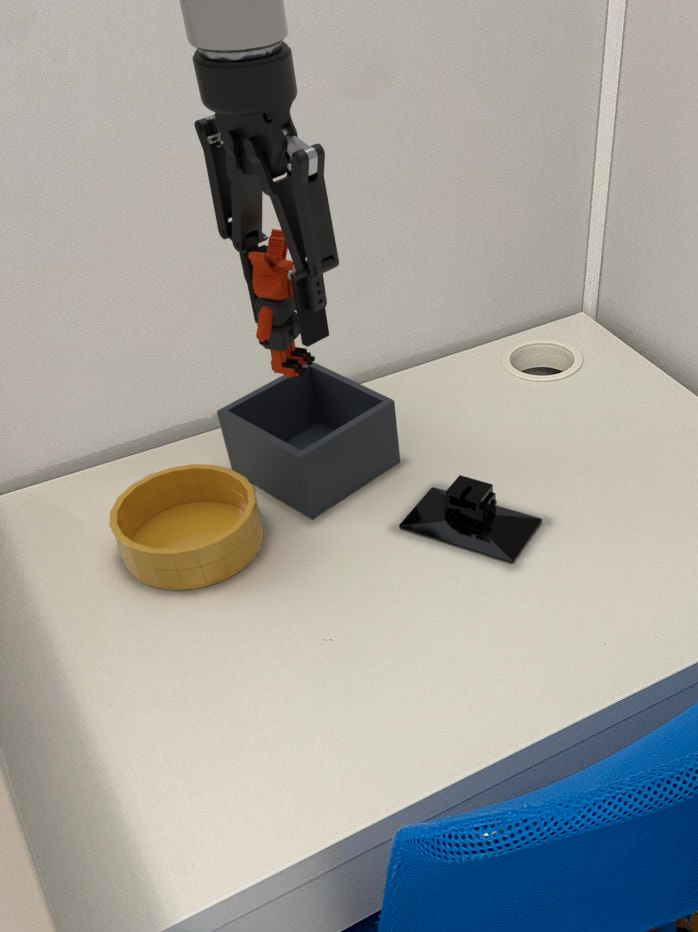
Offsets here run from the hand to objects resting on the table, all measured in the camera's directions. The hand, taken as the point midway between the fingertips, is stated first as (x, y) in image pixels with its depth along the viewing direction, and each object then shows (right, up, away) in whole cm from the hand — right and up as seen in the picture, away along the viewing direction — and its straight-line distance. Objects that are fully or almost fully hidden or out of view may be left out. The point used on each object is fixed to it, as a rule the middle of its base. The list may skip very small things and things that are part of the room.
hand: (291, 328), depth 88 cm
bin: (0, -11, +11) cm, 16 cm away
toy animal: (0, -3, +3) cm, 4 cm away
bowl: (-10, -20, +3) cm, 22 cm away
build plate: (+17, -18, +4) cm, 25 cm away
